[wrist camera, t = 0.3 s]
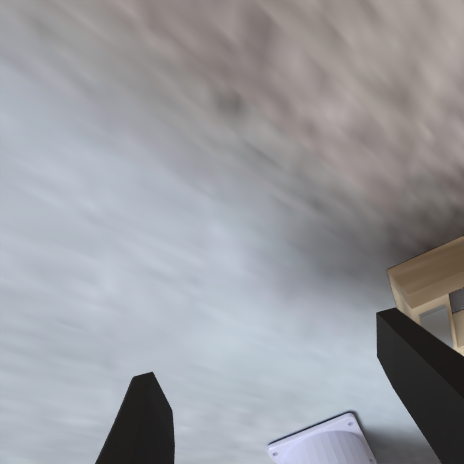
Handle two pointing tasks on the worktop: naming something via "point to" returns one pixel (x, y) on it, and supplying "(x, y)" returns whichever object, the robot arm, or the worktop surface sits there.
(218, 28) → the worktop surface
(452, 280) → the socket board
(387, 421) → the worktop surface
